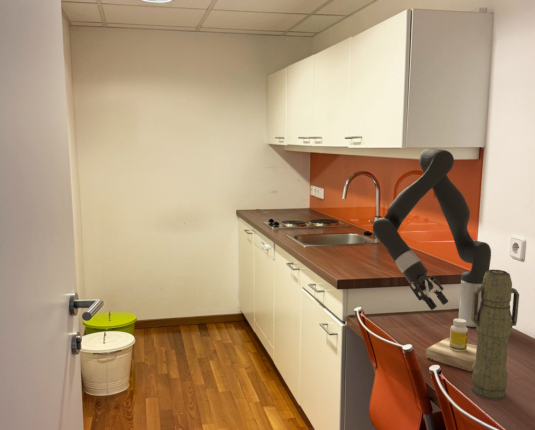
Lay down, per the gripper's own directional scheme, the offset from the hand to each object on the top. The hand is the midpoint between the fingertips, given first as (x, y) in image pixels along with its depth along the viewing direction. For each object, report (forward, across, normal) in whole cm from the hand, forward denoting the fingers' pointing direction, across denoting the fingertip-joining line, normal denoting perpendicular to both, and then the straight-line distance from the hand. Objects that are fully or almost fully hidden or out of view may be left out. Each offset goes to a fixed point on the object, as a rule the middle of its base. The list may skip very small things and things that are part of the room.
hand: (440, 305), depth 175 cm
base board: (+16, 0, +6) cm, 18 cm away
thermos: (+28, -18, -6) cm, 34 cm away
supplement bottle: (+14, 0, +4) cm, 15 cm away
